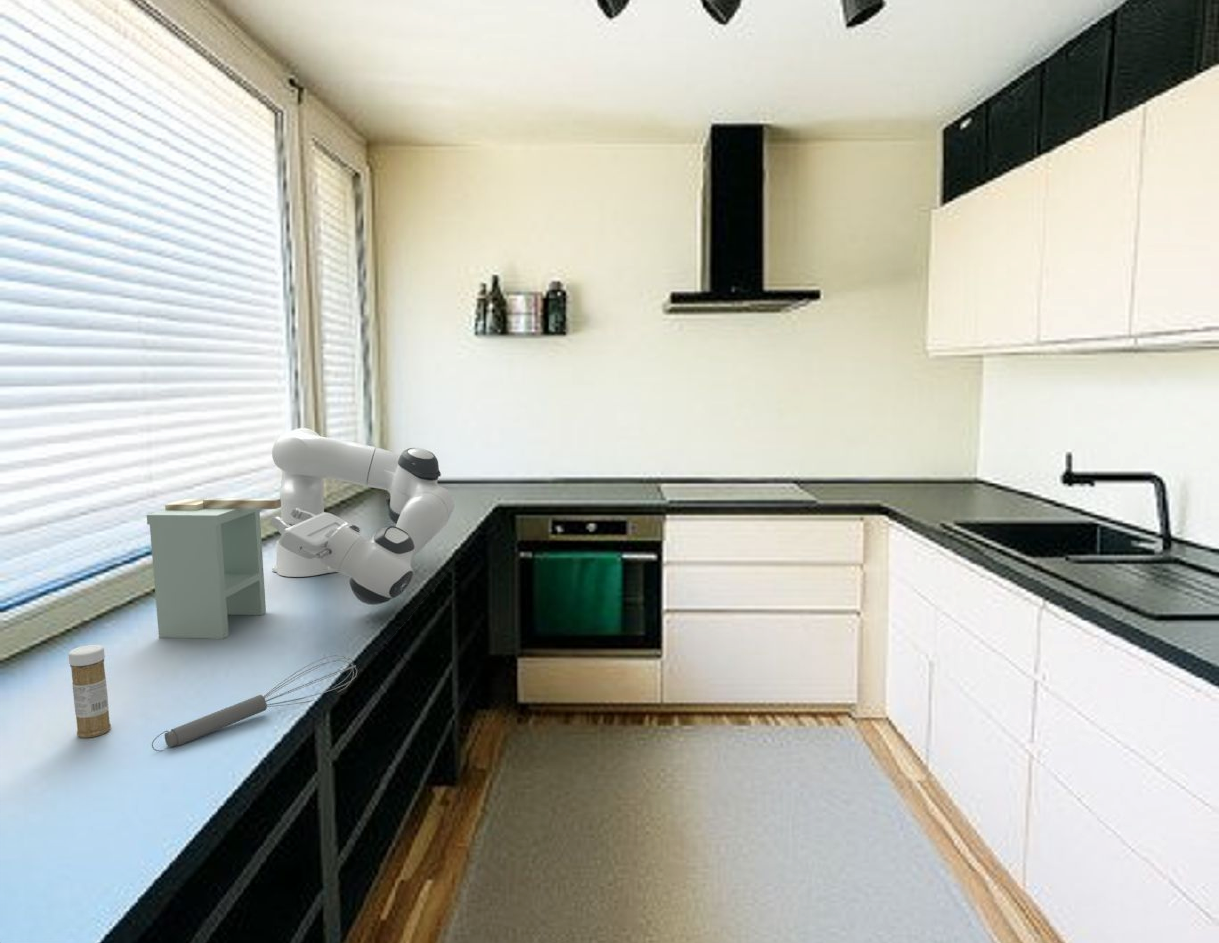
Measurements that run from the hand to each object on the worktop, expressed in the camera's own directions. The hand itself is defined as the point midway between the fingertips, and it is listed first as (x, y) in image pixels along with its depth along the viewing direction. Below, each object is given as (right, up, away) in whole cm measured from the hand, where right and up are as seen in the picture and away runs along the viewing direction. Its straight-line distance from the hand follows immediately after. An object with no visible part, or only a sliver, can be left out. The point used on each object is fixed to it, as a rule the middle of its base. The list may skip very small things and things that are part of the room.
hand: (283, 515), depth 173 cm
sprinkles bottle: (-10, -31, -47) cm, 57 cm away
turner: (-13, +2, +1) cm, 13 cm away
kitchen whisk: (+14, -31, -41) cm, 53 cm away
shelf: (-17, -24, +5) cm, 30 cm away
